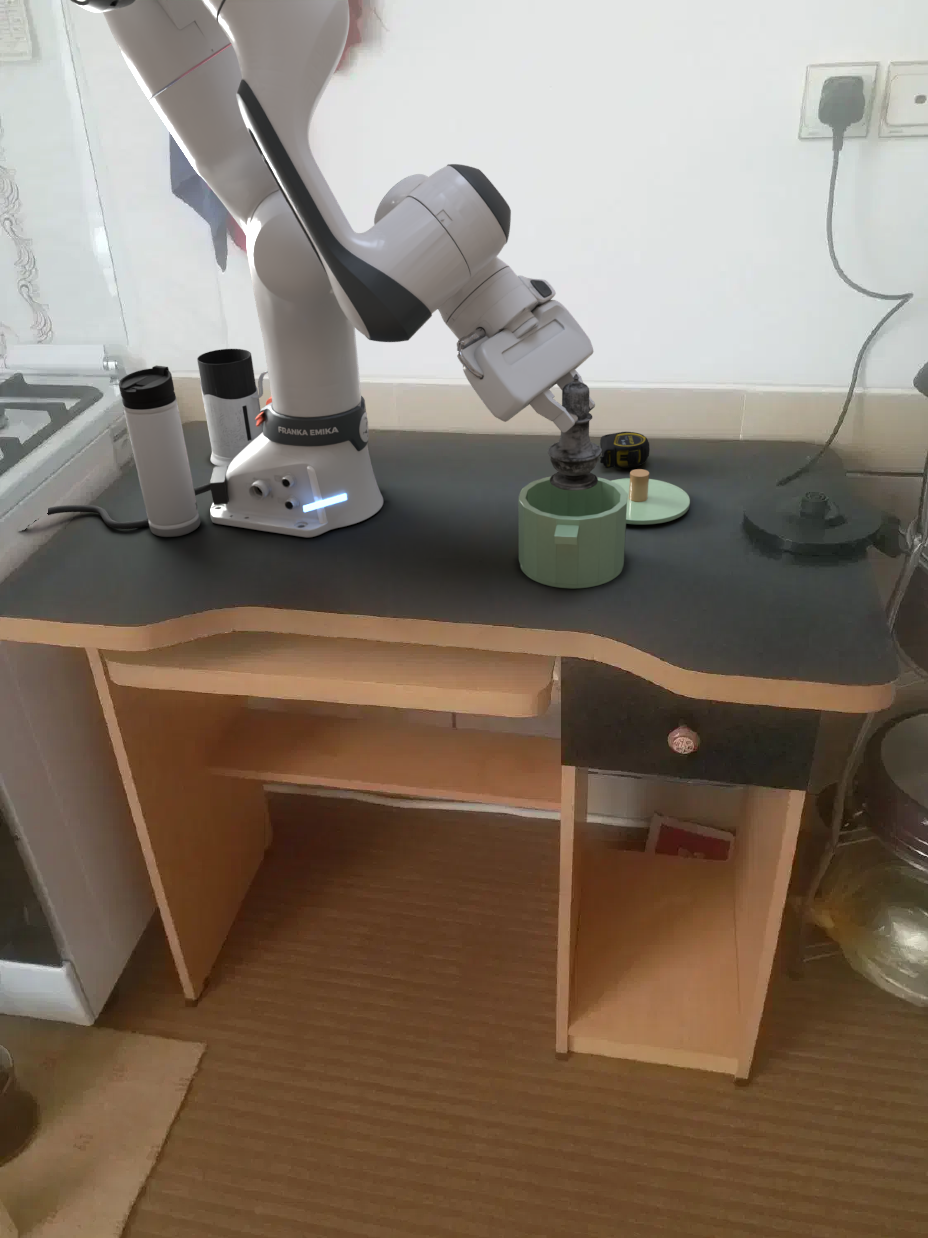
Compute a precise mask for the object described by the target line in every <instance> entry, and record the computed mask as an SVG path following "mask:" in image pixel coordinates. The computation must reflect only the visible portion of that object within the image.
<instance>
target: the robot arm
mask: <svg viewBox="0 0 928 1238" xmlns="http://www.w3.org/2000/svg"><path fill="white" fill-rule="evenodd" d="M70 1H71V2H72V3H74V4H75V5H77V6H78V7H81V8H83V9H84V10H86V11H89V12H92V13H103V16H104V18H105V21H106V23H107V25H108V27H109V29H110V32H111V34H112V36H113V39H114V41H115V42H116V44H117V46H118V49H119V51H120V53H121V54H122V56H123V59H124V61H125V62H126V64H127V66H128V68H129V69H130V71H131V73H132V74H133V76H134V78H135V80H136V81H137V84H138V85H139V86H140V88H141V90H142V91H143V93H144V94H145V96H146V97H147V99H148V100H149V102H150V104H151V105H152V107H153V108H154V110H155V112H156V113H157V114H158V116H159V117H160V119H161V120H162V122H163V123H164V125H165V126H166V128H167V130H168V131H169V133H170V135H172V137H173V139H174V140H175V142H176V143H177V145H178V146H179V148H180V149H181V151H182V152H183V154H184V156H185V157H186V158H187V160H188V162H189V163H190V165H191V166H192V167H193V169H194V170H195V172H196V173H197V174H198V176H199V177H201V178H202V180H203V181H204V182H205V183H206V184H207V186H208V187H209V188H210V189H211V190H212V192H213V193H214V195H215V196H216V197H217V198H218V199H219V201H220V202H221V203H222V205H223V206H224V208H226V210H227V211H228V212H229V214H230V216H231V217H232V218H233V219H234V221H235V222H236V223H237V225H238V226H239V228H240V229H241V230H242V232H243V233H244V235H245V237H246V254H247V261H248V266H249V272H250V279H251V285H252V289H253V295H254V301H255V307H256V312H257V318H258V322H259V329H260V333H261V336H262V342H263V349H264V354H265V355H264V356H265V363H266V370H268V373H267V375H268V376H267V377H268V383H269V390H270V391H269V392H270V397H269V398H267V399H266V401H265V406H263V407H262V408H260V409H261V410H260V414H259V415H258V416H257V417H256V418H255V420H258V421H257V424H256V426H257V427H259V426H260V425H262V429H263V432H262V433H261V434H260V435H259V436H258V437H257V438H255V439H254V440H253V441H252V442H251V443H250V444H249V445H247V446H246V447H245V448H244V449H243V450H242V451H241V452H240V453H239V454H238V455H237V456H236V457H235V458H234V459H233V460H232V462H231V463H230V465H229V467H228V466H213V470H212V474H211V478H210V481H209V482H208V483H205V484H202V485H199V486H197V487H194V492H195V497H196V496H198V495H200V494H201V495H202V494H204V493H207V492H209V491H210V492H211V497H212V503H211V506H210V520H211V522H212V523H214V524H217V525H224V526H231V527H237V528H244V529H249V530H256V531H262V532H267V533H268V532H269V533H275V534H282V535H288V536H295V537H300V538H313V537H317V536H320V535H322V534H325V533H327V532H329V531H331V530H335V529H338V528H344V527H347V526H351V525H355V524H357V523H360V522H363V521H365V520H367V519H369V518H372V516H374V515H375V514H377V513H378V512H379V511H380V510H381V509H382V507H383V505H384V497H383V495H382V493H381V490H380V488H379V485H378V482H377V479H376V475H375V473H374V469H373V466H372V465H373V464H372V461H371V456H370V452H369V445H368V443H369V438H370V437H369V436H370V428H369V427H370V426H369V418H368V412H367V408H366V400H365V397H364V396H362V390H361V382H360V381H361V380H360V370H359V369H360V368H359V357H358V348H357V346H358V345H357V337H356V330H357V332H359V333H360V334H362V335H363V336H364V337H365V338H366V339H367V340H369V341H373V342H379V343H401V342H407V341H409V340H410V339H411V338H413V336H415V334H416V333H418V331H419V330H420V329H421V328H422V327H424V324H426V323H427V322H428V321H429V320H430V319H431V318H432V316H433V314H434V313H435V312H436V311H438V312H439V315H440V316H441V319H442V321H443V322H444V324H445V325H446V326H447V328H449V330H450V331H451V332H452V334H453V335H454V336H455V337H456V339H458V340H457V342H456V352H457V355H456V356H457V359H458V360H459V361H458V362H460V363H461V365H462V370H463V374H464V376H465V377H466V379H467V381H468V383H469V384H470V385H471V387H472V389H473V390H474V392H475V394H476V395H477V396H478V397H479V399H480V400H481V401H482V403H483V405H485V407H486V408H487V410H488V411H489V412H490V413H491V414H492V415H493V416H494V417H495V418H496V419H498V420H500V421H502V422H508V421H510V420H511V419H512V418H514V417H515V416H516V415H517V414H519V413H520V412H521V411H522V410H524V409H525V408H527V407H528V406H529V405H530V406H531V408H532V409H533V410H534V412H535V413H536V414H538V415H540V416H541V417H542V418H543V417H544V418H545V419H547V420H548V421H550V422H552V423H553V424H554V425H555V426H556V427H557V429H558V430H559V431H560V433H561V432H566V431H568V430H569V429H570V428H571V427H572V426H574V425H575V424H576V423H577V422H578V417H577V416H576V415H575V414H574V413H573V411H572V410H571V409H570V407H568V408H567V409H566V408H564V407H563V406H562V403H561V404H560V403H559V402H558V401H557V400H556V399H555V394H554V393H553V392H552V391H551V390H550V389H552V388H553V387H555V386H556V385H557V386H558V387H559V389H560V390H561V391H562V390H563V388H564V386H565V385H566V384H568V383H570V382H572V381H574V379H573V377H574V375H575V374H577V375H578V377H579V379H578V381H580V382H582V383H584V380H583V379H582V376H581V374H580V373H579V372H578V371H577V368H579V367H580V366H582V365H583V363H585V362H586V361H587V360H588V359H589V358H590V357H591V356H592V355H593V354H594V346H593V344H592V342H591V339H590V337H589V336H588V335H587V333H586V331H585V330H584V329H583V328H582V326H581V325H580V324H579V322H578V321H577V320H576V318H575V317H574V316H573V315H572V314H571V312H570V311H569V310H568V309H567V307H565V305H563V304H562V303H561V302H560V301H558V300H557V299H553V298H554V297H555V296H556V294H557V293H556V290H555V288H554V287H553V286H552V285H551V283H550V282H549V281H548V280H547V279H542V278H532V277H531V278H530V277H526V276H523V275H517V273H515V271H514V270H513V269H512V267H510V265H508V264H507V263H506V262H505V261H504V260H502V259H501V258H499V257H498V255H499V254H500V253H501V251H502V250H503V249H504V247H505V245H506V244H508V241H509V237H510V232H511V231H510V230H511V220H512V218H511V217H512V210H511V207H510V206H509V203H508V202H507V200H505V198H504V196H503V195H502V193H500V192H499V190H498V188H497V187H496V186H495V185H494V184H493V182H492V181H491V180H490V179H489V177H487V175H486V174H485V173H483V171H482V170H481V169H479V168H477V167H474V166H469V165H465V164H457V163H450V164H449V163H448V164H446V165H445V166H444V167H442V168H439V169H438V170H437V171H435V172H433V173H432V174H430V175H429V176H427V175H426V174H424V173H423V174H422V173H417V174H411V175H408V176H406V177H404V178H403V179H401V180H400V181H398V182H397V183H396V184H394V185H393V186H392V187H391V188H390V189H389V190H388V192H387V193H386V194H385V195H384V197H382V199H381V200H380V203H379V204H378V206H377V208H376V211H375V214H374V219H373V226H371V227H370V228H369V229H368V230H366V231H364V232H356V231H354V229H353V227H352V226H351V224H350V222H349V220H348V218H347V216H346V215H345V213H344V211H343V209H342V208H341V205H340V204H339V202H338V200H337V198H336V196H335V194H334V193H333V191H332V189H331V187H330V186H329V183H328V182H327V180H326V178H325V176H324V174H323V173H322V171H321V169H320V167H319V165H318V164H317V161H316V160H315V158H314V155H313V153H312V149H311V144H310V134H309V133H310V128H311V123H312V120H313V117H314V114H315V112H316V110H317V108H318V106H319V103H320V101H321V99H322V97H323V95H324V93H325V91H326V89H327V87H328V85H329V84H330V81H331V80H332V78H333V75H334V74H335V71H336V69H337V68H338V66H339V63H340V61H341V59H342V55H343V53H344V50H345V47H346V44H347V39H348V34H349V29H350V18H351V17H350V6H349V0H70ZM595 407H596V403H595V401H594V400H593V399H592V398H591V396H590V395H589V413H590V412H591V411H592V410H593V409H594V408H595ZM47 508H48V513H47V514H48V516H51V515H55V514H65V513H93V514H98V515H100V517H101V518H102V520H103V522H104V523H105V524H106V525H107V526H108V527H110V528H112V529H116V530H134V529H142V528H145V527H146V528H147V527H150V526H149V519H148V518H145V519H141V520H134V521H117V520H114V519H113V518H111V516H110V514H109V513H108V511H107V510H106V509H105V508H104V507H101V506H98V505H93V504H92V505H91V504H90V505H89V504H67V505H56V506H51V507H47ZM37 521H38V520H35V521H34V522H33V523H32V524H34V523H35V522H37ZM26 530H28V528H26V529H25V530H24V531H23V532H25V531H26Z"/></svg>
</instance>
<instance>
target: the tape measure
mask: <svg viewBox="0 0 928 1238" xmlns="http://www.w3.org/2000/svg"><path fill="white" fill-rule="evenodd" d="M599 447H600V448H601V449H602V453H601V455H600V456H599V458H600V461H599V463H600V464H602V465H603V467H605V468H606V469H609V468H615V467H617V468H623V469H624V468H626V469H629V468H635V467H636V468H637V467H639V466H641V465H643V464H645V463H646V462H647V461H648V460H649V459H648V458H649V457H650V442H649V440H648V438H647V437H646V436H645V435H644V434H642V433H639V432H635V431H621V432H620V431H619V432H614V433H609V434H605V435H602V436H601V437H600V439H599Z"/></svg>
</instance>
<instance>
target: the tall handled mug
mask: <svg viewBox="0 0 928 1238" xmlns="http://www.w3.org/2000/svg"><path fill="white" fill-rule="evenodd" d="M196 361H197V366H198V372H199V385H200V391H201V395H202V402H203V407H204V413H205V414H204V415H205V419H206V425H207V429H208V436H209V442H210V447H211V455H210V463H212V464H213V465H214V466H216V467H220V466H228V467H229V465H230V463H231V462H232V460H233V459H234V458H235V457H236V456H237V455H238V454H239V453H240V452H241V451H242V450H243V449H244V448H245V447H246V446H247V445H249V444H250V443H251V442H252V441H253V440H254V439H255V438H257V437H258V436H259V435H260V434H261V433H262V432H263V429H262V425H260V426H259V427H257V426H256V424H257V421H258V420H255V418H256V417H257V416H258V415H259V414H260V410H261V409H262V408H261V403H260V398H262V396H263V395H264V387H263V385H264V383H263V380H264V377H265V376H266V374H268V370H267V369H266V370H264V371H262V372H261V373H260V375H259V376H258V382H257V384H256V377H255V370H254V363H253V358H252V353H251V351H250V350H247V349H242V348H222V349H215V350H211V351H206V352H204V353H202V354H200V355H198V356H197V358H196Z"/></svg>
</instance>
